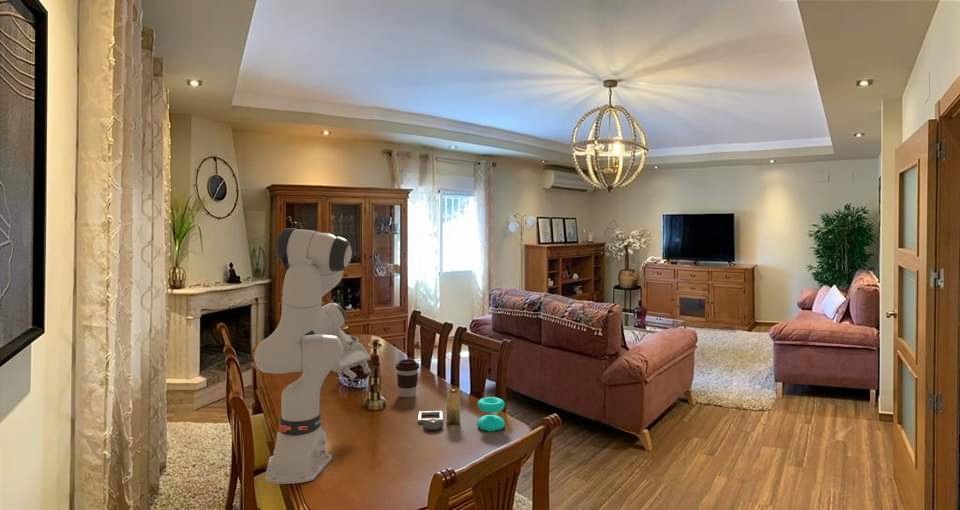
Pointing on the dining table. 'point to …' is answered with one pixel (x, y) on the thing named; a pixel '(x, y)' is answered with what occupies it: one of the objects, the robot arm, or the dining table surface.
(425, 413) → the ring seat
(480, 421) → the donuts
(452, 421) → the tan bottle
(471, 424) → the dining table surface
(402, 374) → the coffee cup
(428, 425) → the carrier
